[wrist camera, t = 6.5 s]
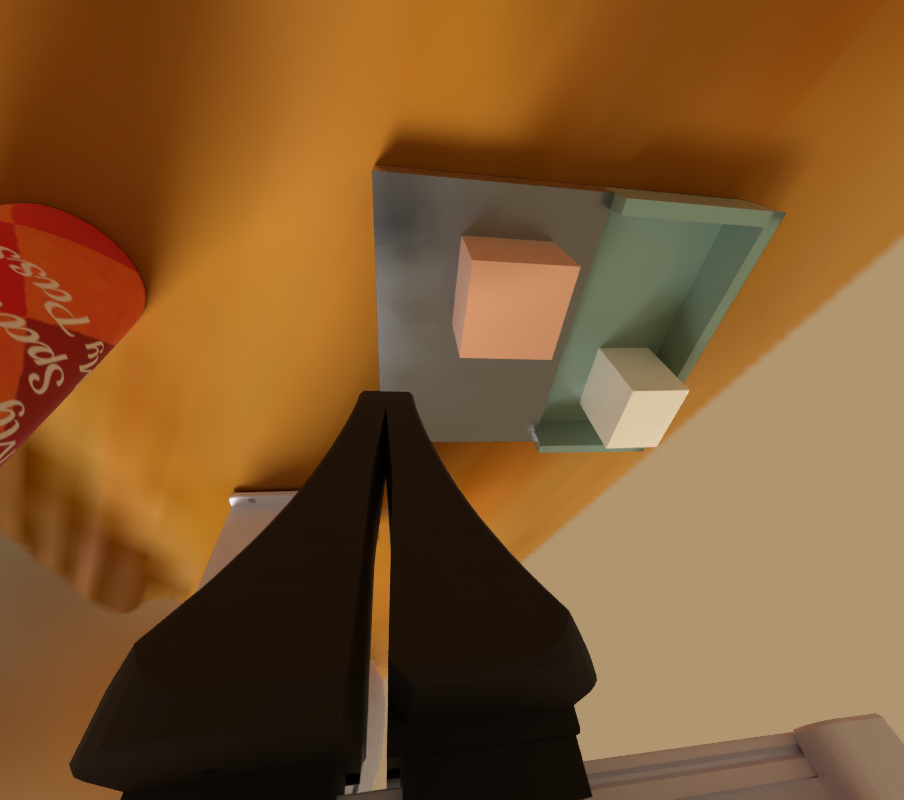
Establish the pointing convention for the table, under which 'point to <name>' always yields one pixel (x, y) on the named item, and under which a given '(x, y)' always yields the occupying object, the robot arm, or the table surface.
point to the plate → (434, 285)
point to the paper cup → (56, 311)
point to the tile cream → (631, 397)
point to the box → (653, 293)
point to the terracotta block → (511, 297)
